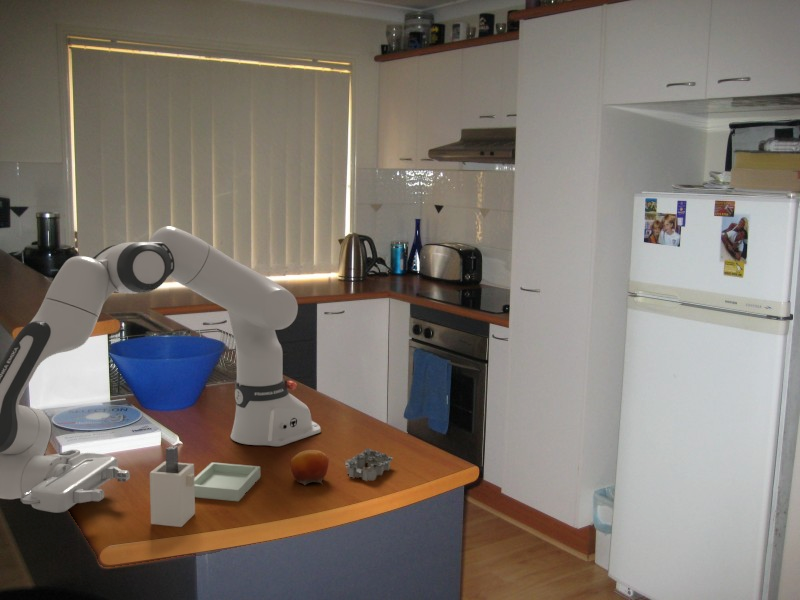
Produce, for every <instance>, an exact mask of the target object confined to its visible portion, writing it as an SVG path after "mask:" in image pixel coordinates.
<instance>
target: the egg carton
mask: <svg viewBox="0 0 800 600" xmlns="http://www.w3.org/2000/svg"><path fill="white" fill-rule="evenodd" d="M393 459H394V456H392V455H390V456H388V455H387V453H383V452H380V451H377V450H373V449H371V448H369V447H367V448H366V449H364V451H362V452H360V453H356V455H355V456H352V458H349V459H346V460H345V462H344V463H345V464H344V466H345V468H347V471H346V473H347V474H349V475H348V476H349V478H350V477H356V478H359V477H362V478H361V479H362V481H363V480H366V481H365V482H368V481H367V480H369V481H375V480H377V477H378V476H383V475H384V471H390V470H391V462H393ZM365 463H368V464H367V467H366V464H365ZM363 467H364V468H363ZM389 469H390V470H389Z"/></svg>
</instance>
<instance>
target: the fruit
mask: <svg viewBox="0 0 800 600" xmlns="http://www.w3.org/2000/svg"><path fill="white" fill-rule="evenodd" d="M329 463H330V461H329V457H328V455H327V454H326V452H323V451H321V450H317V449H305V450H303V451H300V452H298V453H297V454H295V455H294V456H293V457H292V458H291V460H290V469H291V473H292V476H293V478H294V480H295V481H296V482H297V483H300V484H302V485H304V486H306V485H308V484H310V483H319V484H322V486H324V484H323V480H324V479H325V476H326V475H327V472H328V468H329Z"/></svg>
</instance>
